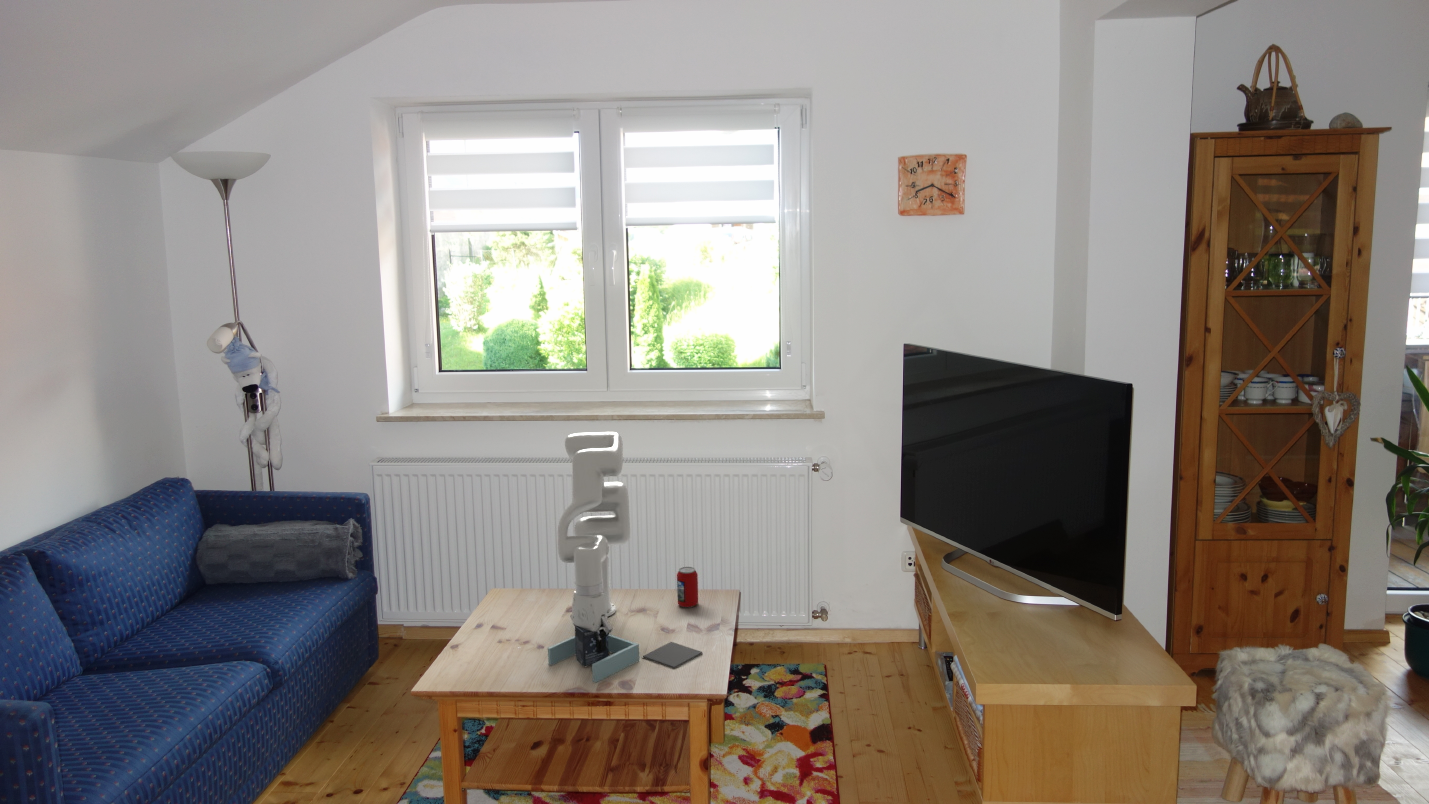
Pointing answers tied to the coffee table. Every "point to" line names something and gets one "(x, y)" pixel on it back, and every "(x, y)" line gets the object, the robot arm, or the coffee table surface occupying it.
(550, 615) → the coffee table surface
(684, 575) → the beverage can
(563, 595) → the coffee table surface
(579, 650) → the box
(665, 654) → the mat
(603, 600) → the robot arm
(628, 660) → the cubby
